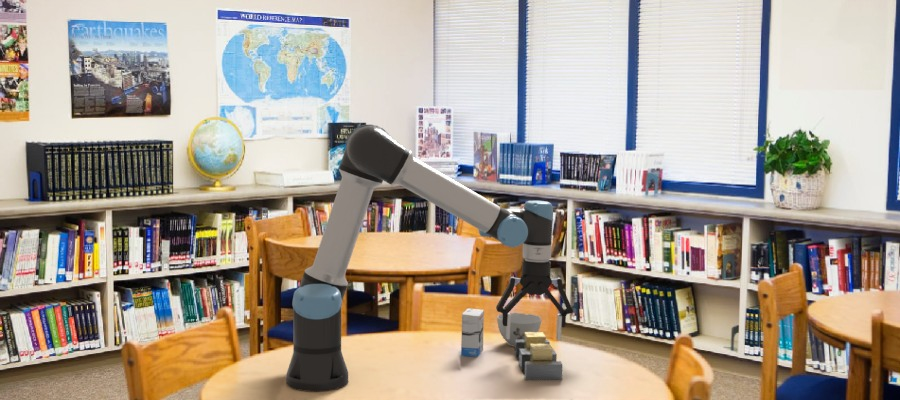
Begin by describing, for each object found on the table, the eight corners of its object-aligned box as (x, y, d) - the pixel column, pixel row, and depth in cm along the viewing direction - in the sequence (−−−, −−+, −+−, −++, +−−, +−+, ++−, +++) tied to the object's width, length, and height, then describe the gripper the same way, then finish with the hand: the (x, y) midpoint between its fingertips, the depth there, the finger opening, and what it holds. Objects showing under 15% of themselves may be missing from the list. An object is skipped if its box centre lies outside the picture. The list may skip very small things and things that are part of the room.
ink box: (478, 358, 267) (479, 315, 265) (460, 357, 268) (461, 314, 266) (483, 350, 275) (484, 308, 273) (466, 349, 276) (466, 307, 274)
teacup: (542, 350, 275) (543, 322, 274) (497, 350, 275) (498, 322, 274) (537, 336, 290) (538, 310, 289) (495, 336, 290) (495, 309, 289)
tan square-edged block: (523, 357, 266) (524, 332, 265) (542, 357, 266) (543, 332, 266) (526, 362, 261) (526, 336, 260) (545, 362, 262) (545, 336, 261)
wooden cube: (532, 376, 250) (532, 348, 249) (529, 370, 254) (530, 343, 254) (551, 376, 250) (552, 348, 249) (548, 370, 255) (549, 343, 254)
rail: (526, 382, 246) (526, 364, 245) (514, 355, 270) (515, 339, 269) (561, 382, 246) (562, 364, 246) (547, 355, 270) (548, 339, 270)
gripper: (490, 261, 256) (487, 341, 259) (586, 263, 258) (582, 342, 260) (488, 256, 264) (485, 333, 266) (581, 258, 265) (577, 335, 268)
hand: (533, 338), depth 263 cm, fingers open, 13 cm apart
